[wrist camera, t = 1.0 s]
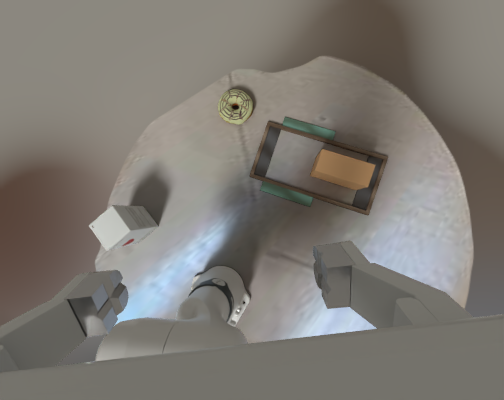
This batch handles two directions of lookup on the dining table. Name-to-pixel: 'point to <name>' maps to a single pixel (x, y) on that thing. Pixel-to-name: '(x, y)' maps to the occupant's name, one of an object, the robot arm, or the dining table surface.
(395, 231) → the dining table surface
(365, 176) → the orange block
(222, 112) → the decorated donut
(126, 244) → the supplement box
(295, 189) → the trap lane
